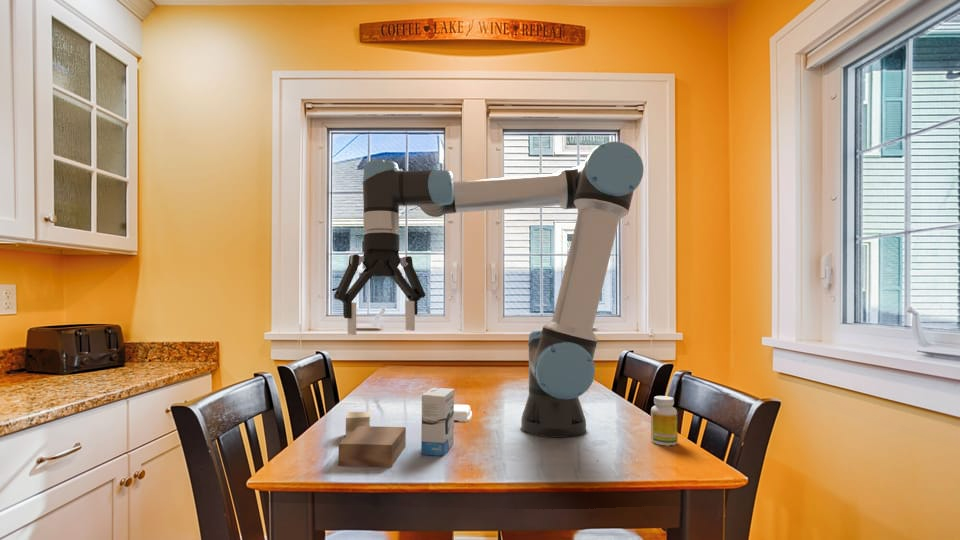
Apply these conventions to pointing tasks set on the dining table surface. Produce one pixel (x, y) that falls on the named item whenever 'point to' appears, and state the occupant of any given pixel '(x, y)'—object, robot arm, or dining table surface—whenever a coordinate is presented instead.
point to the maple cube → (356, 420)
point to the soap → (462, 413)
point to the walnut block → (372, 446)
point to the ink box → (437, 421)
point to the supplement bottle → (664, 421)
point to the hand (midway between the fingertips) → (382, 332)
